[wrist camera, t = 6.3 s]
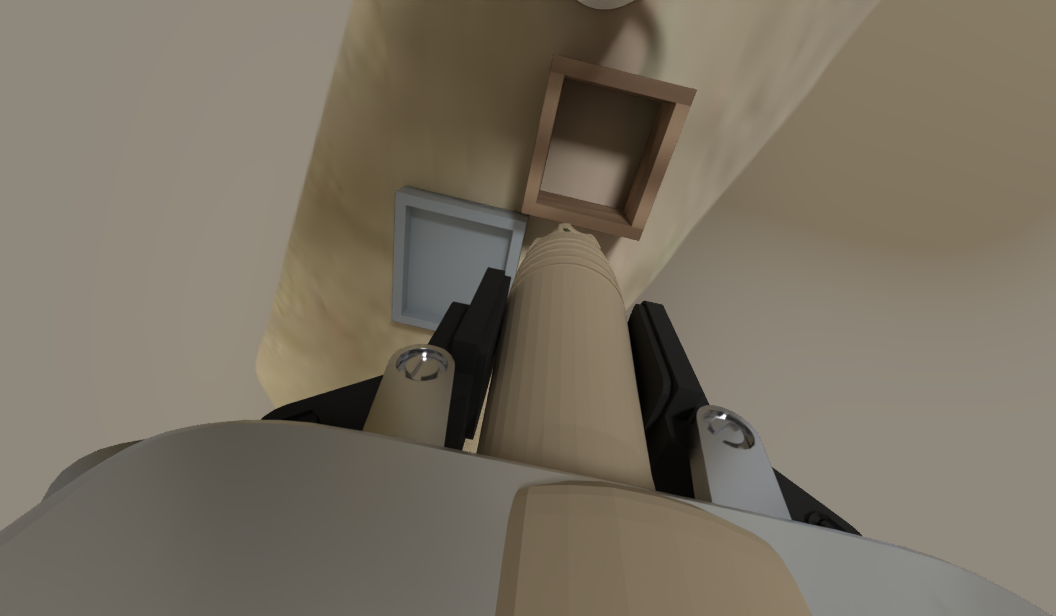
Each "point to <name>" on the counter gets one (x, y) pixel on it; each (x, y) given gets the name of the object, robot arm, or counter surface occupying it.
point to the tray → (447, 252)
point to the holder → (651, 164)
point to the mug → (605, 3)
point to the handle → (601, 465)
